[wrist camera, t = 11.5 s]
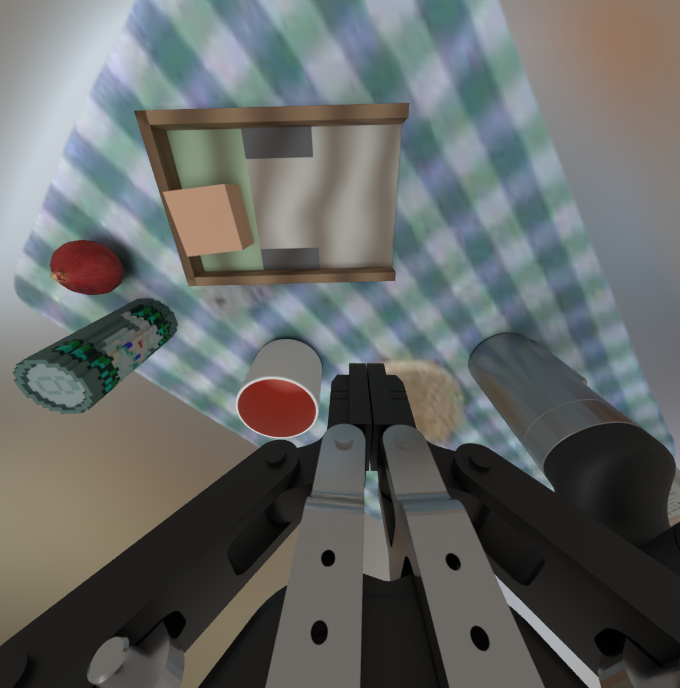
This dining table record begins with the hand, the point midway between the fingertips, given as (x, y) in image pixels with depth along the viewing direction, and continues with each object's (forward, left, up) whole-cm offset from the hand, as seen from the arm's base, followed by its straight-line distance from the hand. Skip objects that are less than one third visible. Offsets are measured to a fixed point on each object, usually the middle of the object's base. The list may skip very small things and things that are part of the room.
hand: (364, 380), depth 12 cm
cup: (+9, +15, -25) cm, 31 cm away
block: (+14, -5, -24) cm, 29 cm away
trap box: (+6, -6, -25) cm, 26 cm away
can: (+27, +7, -25) cm, 37 cm away
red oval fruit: (+29, -1, -25) cm, 38 cm away
